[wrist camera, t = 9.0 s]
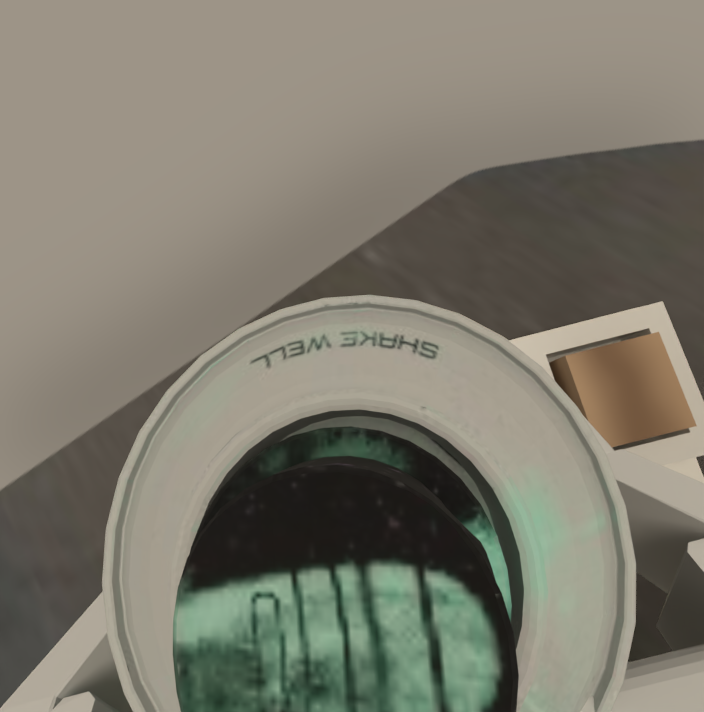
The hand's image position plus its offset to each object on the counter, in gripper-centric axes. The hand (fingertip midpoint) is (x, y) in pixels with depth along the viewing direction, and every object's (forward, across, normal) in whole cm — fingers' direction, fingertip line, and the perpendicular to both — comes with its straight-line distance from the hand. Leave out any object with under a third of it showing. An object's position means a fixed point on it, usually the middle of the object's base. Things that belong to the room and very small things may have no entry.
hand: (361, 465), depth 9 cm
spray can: (+8, 0, +10) cm, 13 cm away
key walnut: (+15, -16, +15) cm, 27 cm away
